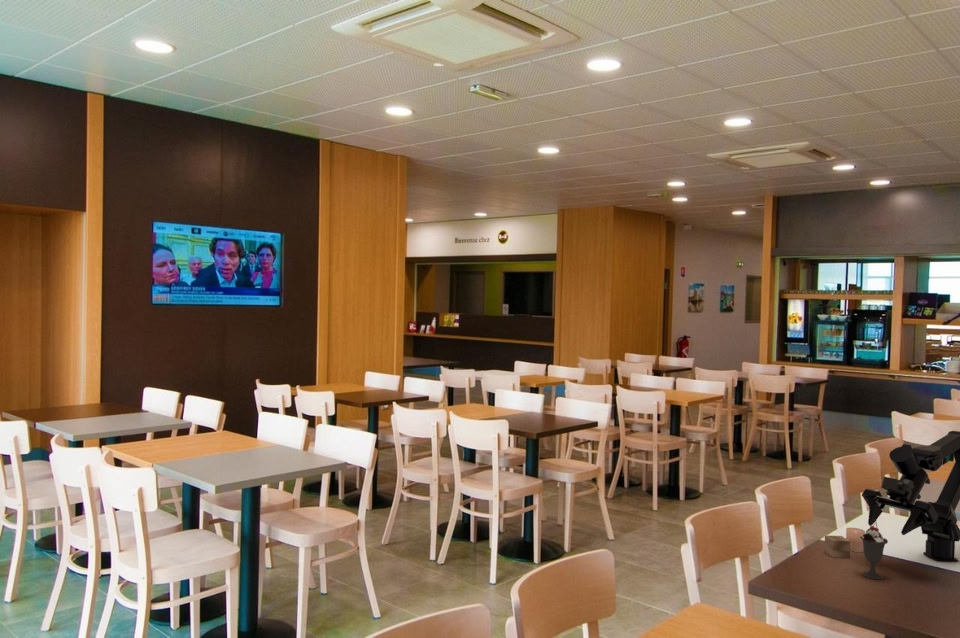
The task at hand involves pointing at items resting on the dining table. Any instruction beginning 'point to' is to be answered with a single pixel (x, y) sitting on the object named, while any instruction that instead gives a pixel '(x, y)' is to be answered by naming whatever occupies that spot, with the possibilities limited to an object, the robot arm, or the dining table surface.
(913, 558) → the dining table surface
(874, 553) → the sundae
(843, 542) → the walnut block
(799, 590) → the dining table surface
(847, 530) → the pink block
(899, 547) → the dining table surface
